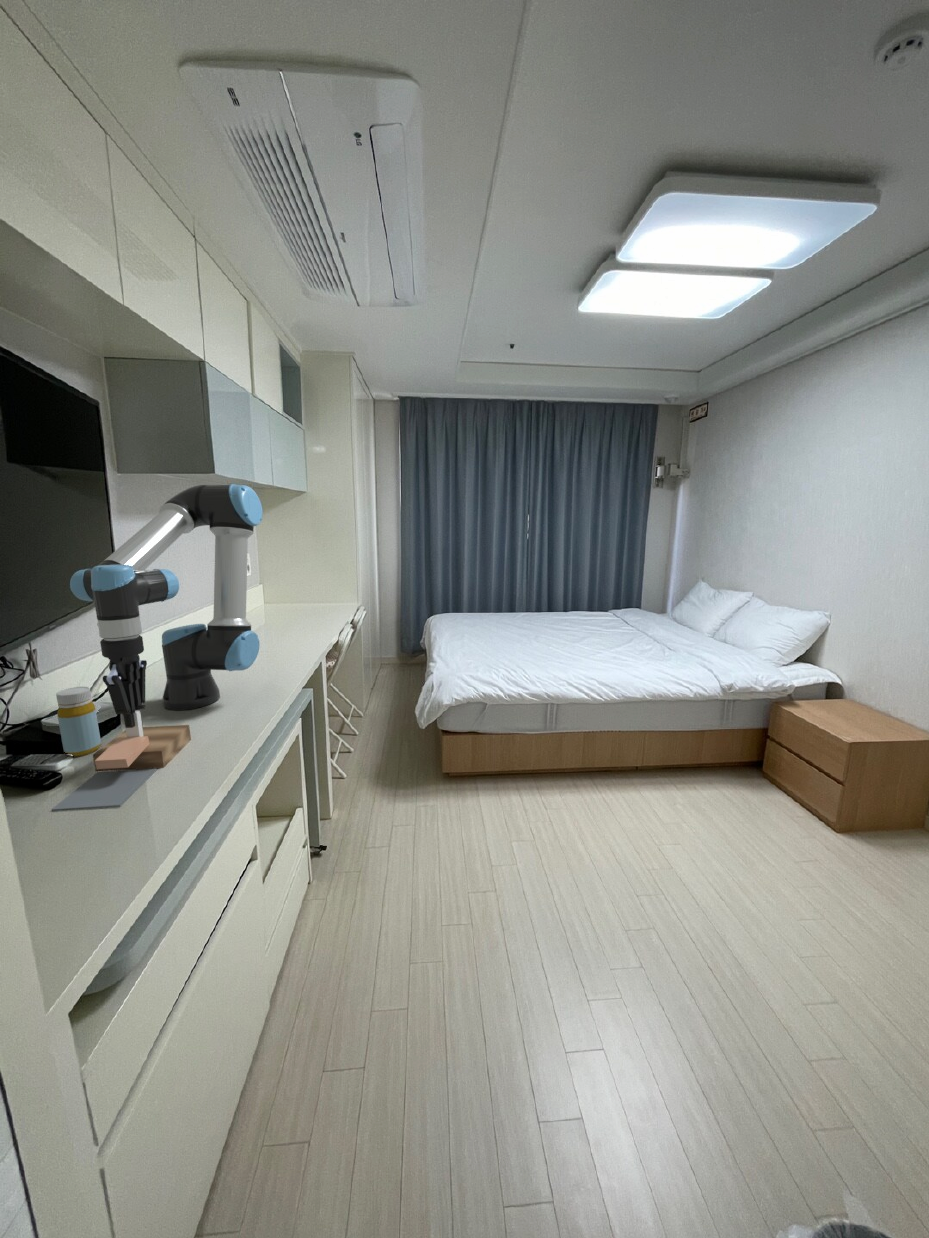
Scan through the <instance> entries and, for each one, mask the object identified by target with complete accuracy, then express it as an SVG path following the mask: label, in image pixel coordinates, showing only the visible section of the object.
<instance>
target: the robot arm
mask: <svg viewBox="0 0 929 1238" xmlns="http://www.w3.org/2000/svg"><path fill="white" fill-rule="evenodd" d="M263 512H264V511H263V506H262V503H261V500H260V498H259V495H258V494H257V493H256V491H255V490H254V489H252V487H250V486H248V485H244V484H235V483H231V484H199V485H194V486H192V487H189V488H187V489H184V490H183V491H180V492H178V493H177V494H175V495H174V496H173V497H171V498H170V499H168V500H167V501H166V502H164V503H163V504H162V505H161V506H160V508H159V510H158V514H157V515H155V516H154V517H153V518H152V519H151V520H150V521H148V522H147V523H146V524H145V525H144V526H142V528H140V529H139V530H138V531H137V532H136V533H135V534H133V535H132V536H131V537H130V538H129V539H128V540H126V541H125V542H124V543H123V544H122V545H120V546H119V547H118V548H117V549H116V550H115V551H113V552H112V553H111V554H110V555H109V556H108V557H107V558H105V559H104V560H103V561H101V563H99V564H98V565H95V566H93V567H92V568H85V569H80V570H78V571H75V572H74V573H73V575H72V576H71V577H70V582H69V588H70V591H71V592H72V594H73V595H74V596H75V597H76V598H77V599H79V600H81V601H87V602H93V603H94V608H95V614H96V619H97V624H96V625H97V627H98V635H99V637H100V638H101V639H100V648H101V649H100V650H101V655H102V657H104V658H106V659H108V660H109V665H108V670H109V673H108V675H103V676H102V682H103V683H104V684H105V686H106V687H107V691H108V693H109V696H110V700H111V703H112V706H113V709H114V712H115V714H116V715H123V719H124V720H123V721H124V727H125V730H126V735H127V737H141V736H143V729H142V727H143V723H142V715H141V710H144V709H145V708H146V705H145V703H146V670H147V664H148V662H147V660H146V659H143V660H141V659H140V656H139V655H140V654H142V653H143V652H144V651H145V647H144V640H143V639H144V638H143V636H142V635H141V633H143V630H142V625H141V623H142V622H141V617H140V608H139V607H140V606H143V605H149V604H154V603H158V602H159V603H160V602H161V603H163V602H165V601H168V600H171V599H173V598H175V597H176V596H177V594H178V593H179V590H180V581H179V579H178V577H177V576H176V574H175V572H173V571H171V570H168V569H166V568H163V569H162V568H161V569H160V568H154V569H150V570H149V569H147V568H149V566H150V565H152V563H154V562H155V560H157V559H158V558H159V557H160V556H161V555H162V554H163V553H164V552H165V551H166V550H167V549H168V548H169V547H170V546H171V545H173V544H174V542H176V541H177V540H178V539H179V538H180V537H181V536H182V535H183V534H189V533H191V532H192V531H193V530H194V529H195V528H198V527H205V526H209V531H210V532H211V533H212V534H213V535H214V536H215V539H214V543H215V544H214V575H213V576H214V577H213V579H214V581H213V583H214V584H213V585H214V586H213V618H212V620H210V621H209V622H208V623H206V624H207V626H206V624H205V623H193V624H189V625H188V624H186V625H182V626H178V627H173V628H170V629H167V630H165V631H163V633H162V634H161V647H162V656H163V661H164V669H165V675H166V676H165V677H166V683H165V686H164V690H163V694H162V707H164V709H167V710H172V711H187V710H192V709H199V708H203V707H206V706H209V705H211V704H213V703H216V702H217V701H218V700H220V698H221V692H220V688H219V686H218V684H217V683H216V681H215V679H214V677H213V674H212V670H213V671H229V672H235V671H237V672H238V671H245V670H247V669H249V668H251V667H252V666H253V664H254V662H255V661H256V659H257V658H258V655H259V652H260V647H261V646H260V645H261V644H260V638H259V636H258V634H257V632H256V631H255V632H254V631H253V630H252V624H251V623H250V622H249V621H248V620H247V589H248V588H247V584H248V583H247V582H248V547H249V546H248V544H249V541H248V540H249V538H250V537H251V536H253V534H254V527H257V526H259V525H260V524H261V523H262V522H261V521H262V520H263V515H264V514H263ZM142 704H143V705H142Z"/></svg>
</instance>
